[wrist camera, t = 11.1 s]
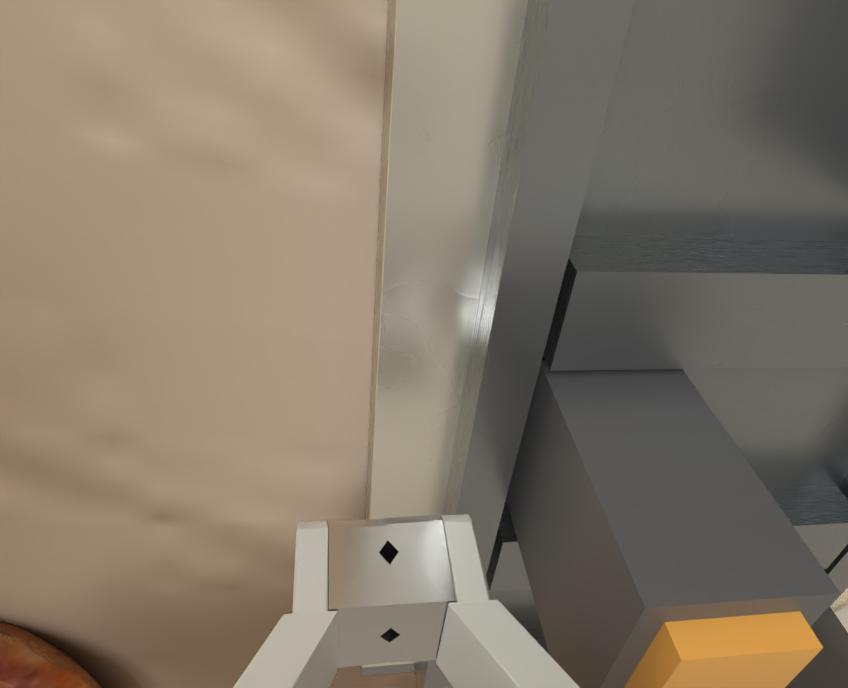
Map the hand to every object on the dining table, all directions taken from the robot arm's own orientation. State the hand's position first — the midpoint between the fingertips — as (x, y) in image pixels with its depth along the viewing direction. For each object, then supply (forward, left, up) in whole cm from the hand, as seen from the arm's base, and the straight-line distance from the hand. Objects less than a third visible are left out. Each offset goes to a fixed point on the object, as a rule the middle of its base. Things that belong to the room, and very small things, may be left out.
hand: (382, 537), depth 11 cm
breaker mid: (0, +4, -2) cm, 5 cm away
